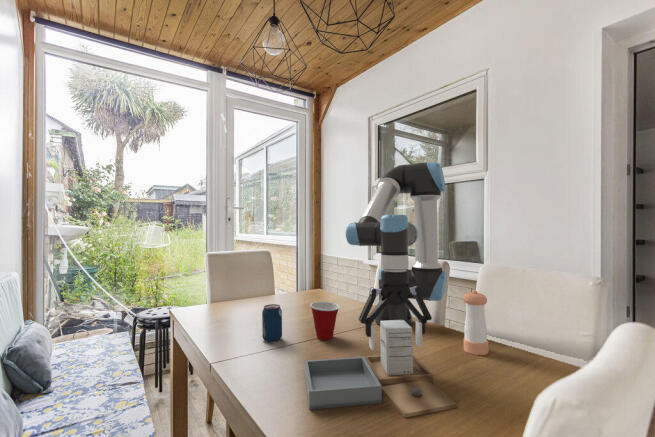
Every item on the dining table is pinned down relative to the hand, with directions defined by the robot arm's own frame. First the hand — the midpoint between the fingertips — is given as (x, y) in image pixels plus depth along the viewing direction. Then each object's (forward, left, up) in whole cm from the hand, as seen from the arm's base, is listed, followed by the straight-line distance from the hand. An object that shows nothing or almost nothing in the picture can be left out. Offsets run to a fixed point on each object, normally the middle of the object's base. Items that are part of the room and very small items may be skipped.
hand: (395, 347), depth 91 cm
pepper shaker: (-30, -10, -7) cm, 33 cm away
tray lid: (0, +14, -7) cm, 15 cm away
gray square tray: (+17, +6, -7) cm, 19 cm away
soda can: (+35, -31, -7) cm, 47 cm away
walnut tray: (0, 0, -7) cm, 7 cm away
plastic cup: (+16, -30, -7) cm, 35 cm away
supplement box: (0, 0, -7) cm, 7 cm away
